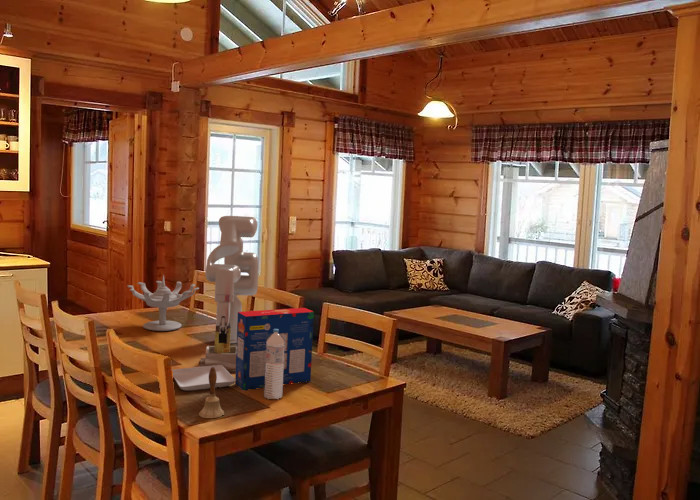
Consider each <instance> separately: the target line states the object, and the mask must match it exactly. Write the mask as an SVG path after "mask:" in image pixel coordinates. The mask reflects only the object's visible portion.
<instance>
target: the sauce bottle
mask: <svg viewBox="0 0 700 500" xmlns="http://www.w3.org/2000/svg"><path fill="white" fill-rule="evenodd" d="M221 326H222V324H221ZM225 326H226V325H225ZM219 332H220V325H219V326H216V325H215V330H214V346H215V349H214V352H215V353H230V346H231V343H230V337H231V326H230V323H229V324H228V326H227V328H226V333H227V343H219Z"/></svg>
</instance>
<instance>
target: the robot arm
mask: <svg viewBox="0 0 700 500" xmlns="http://www.w3.org/2000/svg"><path fill="white" fill-rule="evenodd" d="M218 226H219V230H220V232H221V233H220V242H219V245H218V246H216V247H215V248H213V250H212V251H211V252H210V253H209V255H208V257H207V259H206V260H207V261H206V265H205V266H206V267H205V278H206V280H207V281H209V282H211V283H215V284H214V286H215V287H214V302H215V303H216V314H215V315H216V322H215V327H216V326H219V325H220V332H219V343H227V333H226V328H227V326H228V324H229V323H230V326H231V337H230V344H237V321H238V312H243V305H242V301H241V300H240V298H239V297H238V296H255V295H256V294H257V292H258V287H259V286H258V285H259V257H258V254H256V253H254V252H247V251H246V252H245V251H244V241H243V239H242V238H254V237H255V235H256V234H257V233H256V232H257V231H258V230H257V229H258V222H257V219H256V218H255V217H254V216H242V215H241V216H239V215H223V216H220V218H219V219H218ZM222 259H223V260H224V261H223V263H221V264H220V263H216V262H218V261H219V260H222ZM242 273H247V275H245V274H242ZM221 324H222V326H221ZM225 325H226V326H225Z"/></svg>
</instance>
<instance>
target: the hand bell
mask: <svg viewBox="0 0 700 500" xmlns="http://www.w3.org/2000/svg"><path fill="white" fill-rule="evenodd" d="M216 379H217V374H216V371H215V367H211V369H210V372H209V383H210V389H209V396H207V397H206V398H205V399H204V400H205V401H204V406H203V407H202V409H201V410H200V411H199V413H198V416H199V417H200V418H203V419H205V418H216V417H220V416H222V415H224V416H225V414H224V413H225V411H224V410H223V409H222V407H221V404H220V398H219V397H217V396H216V388H215V384H216ZM222 417H223V416H222ZM220 418H221V417H220Z"/></svg>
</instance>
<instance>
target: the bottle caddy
mask: <svg viewBox="0 0 700 500" xmlns="http://www.w3.org/2000/svg"><path fill="white" fill-rule="evenodd" d="M214 349H215V345H207V346H206V350H205V357H200V361H199V364H198V365H199V366H198V367H201V366H212V365H222V366H223V367H224V368H225V369H226V370H227V371H228V372H229V373H230V374H236V349H237V345H235V346H233V345H232V346H231V345H230V353H215V352H214Z"/></svg>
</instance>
